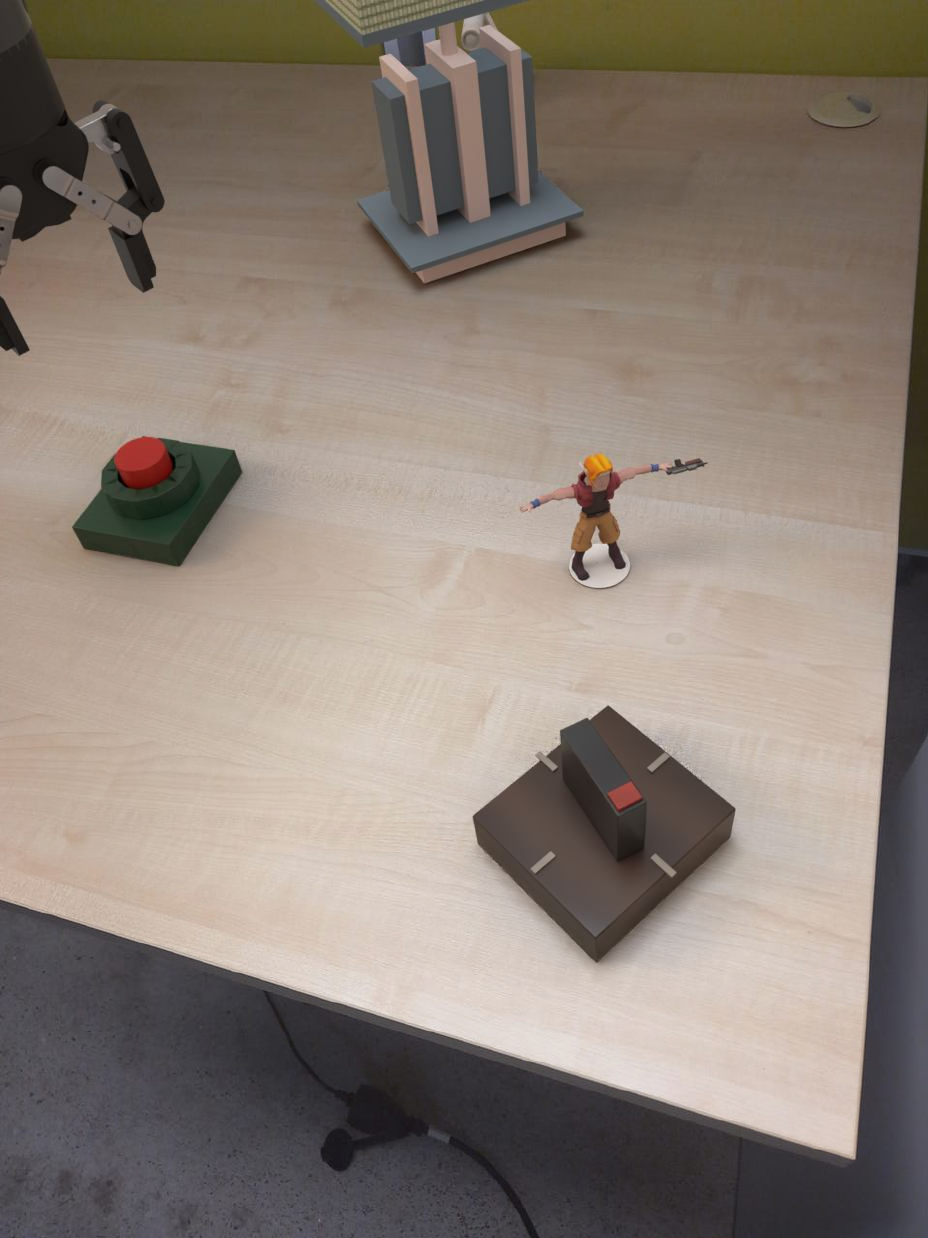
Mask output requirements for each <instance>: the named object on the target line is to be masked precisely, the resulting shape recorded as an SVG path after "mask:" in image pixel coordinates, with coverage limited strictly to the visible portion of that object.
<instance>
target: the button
mask: <svg viewBox="0 0 928 1238" xmlns="http://www.w3.org/2000/svg"><path fill="white" fill-rule="evenodd" d="M157 438H158V437H154V436H146V437H142V436H140V437H137V438H134V439H132V440H129V441H127V442H125V443H124V444H123V445H121V446H120V447H119V448H118V450H117V451H116V453H114V454H115V458H114V462H115V465H116V467H117V469H118V471H119V473H120V475H121V477H122V479H123V481H124V483H125V484H126V485H127V486H129V487H131V488H134V489H144V488H149V487H153V486H155V485H157V484H159V483H160V482H162V481H164V480H165V479H167V478H168V477H169V475H170V474H171V472H172V468H173V464H172V461H171V459H170V457H169V454H168V452H167V450H166V447H165V445H164V443H163V442H162V441H161V440H159V439H157Z"/></svg>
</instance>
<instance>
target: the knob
mask: <svg viewBox="0 0 928 1238" xmlns="http://www.w3.org/2000/svg"><path fill="white" fill-rule="evenodd" d="M589 720H590V719H589V718H588V717H585V718H582V719H580V720H579V721H577V722H575V723H573V724H570V725H568V726H566V727H564V728H562V729H560V730H559V742H560V744H561V758H562V774H563V779H564V781H565V782H566V784H567V785H568V787H569V788H570V790H571V791H572V793H573V794H574V796H575V797H576V799H577V801H578V802H579V804H580V805H581V807H582V808H583V810H584V811H585V813H586V814H587V816H588V817H589V819H590V820H591V822H592V823H593V825H594V826H595V828H596V830H597V831H598V833H599V834H600V836H601V837H602V839H603V840H604V842H605V843H606V845H607V846H608V848H609V849H610V851H611V852H612V854H613V855H614V857H615V859H616V860H617V861H619V860H621V859H623V858H624V857H626V856H628V855H630V854H632V853H634V852H636V851H638V850H640V849H642V848H644V846H645V829H646V812H647V801H646V800H645V798H644V797H643V795H642V794H641V792H640V791H639V790H638V788H637V787H636V785H635V784H634V783H633V781H632V780H631V778H630V777H629V776H628V774H627V773H626V771H625V770H624V769H623V767H622V766H621V764H620V763H619V761H618V760H617V759H616V757H615V756H614V754H613V753H612V752H611V750H610V749H609V747H608V746H607V745H606V743H605V742H604V740H603V739H602V737H601V736H600V735H599V733H598V732H597V730H596V729H595V728H594V726H593V725H592V723H591V722H590V721H589Z"/></svg>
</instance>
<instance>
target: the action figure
mask: <svg viewBox="0 0 928 1238" xmlns="http://www.w3.org/2000/svg"><path fill="white" fill-rule="evenodd" d="M673 462H674V466H673V463H672V462H669V461H667V462H664V463H660V464H659V463H655V464H653V463H651V464H643V465H640V466H637V467H628V468H623V469H621V470H619V471H618V472H616V471H614V470H613V469H614V468H613V464H612V462H611V460H610V459H609V458H608V457H607V456H606V455H605V454H603V453H596V454H593V455H589V456H587V457H586V458H585V460H584V462H583V463H582V462H581V461H580V462H578V463H577V464H578V466H579V468H581V469H583V470H582V472H580V473H579V474H578V475H577V483H576V484H575V483H572V484H571V485H570V486H563V487H560V488H556V489H555V490H553V491H552V492H549V493H546V494H542V495H540V496H539V497H538V498H535V499H534V500H531V501H530V503H526V504H524V505H521V506H519V507H518V510H519V511H520V513H524V512H527V511H528V513H529V514H531V511H532V510H534V509H536V508H538V507H541V506H542V505H545V504H547V503H549V502H551V501H559V502H560V501H563V500H566V499H571V500H572V499H575V500H576V502H577V503H576V504H577V505H578V506H580V507H581V511H580V513H579V519H578V522H577V523H576V525H575V527H574V531H573V533H572V539H571V544H570V550H571V551H574V553H573V555H572V556H571V558H570V559H569V562H568V569H569V572H570V575H571V576H572V578H573V579H574V580H575V581H576V582H578V583H579V584H581V585H583V586H585V587H589V588H595V589H603V588H609V587H613V586H615V585H617V584H619V583H620V582H622V581H624V579H625V578H627V575H628V574H629V572H630V569H631V563H630V558H629V556H628V555H627V554H626V553H625V552H624V551H623V550H622V549H621V548H620V547H619V545H618V540H619V538H620V536H621V530H620V526H619V523H618V520H617V518H616V517H615V515H614V514H613V513H612V512H611V509H612V508H611V503H610V500H613V499H614V497H615V491H616V490H618V489H619V488H620V486H621V485H622V484H623V483H624V482H626V481H628V480H633V479H634V478H635V477H636V476H638V475H644V474H649V473H654V472H656V473H657V472H659V471H664V472H665V473H666V475H667V476H671V475H678V474H682V473H685V472H687V471H689V472H691V471H695V470H697V469H698V468H701V467H704V468H705V465H707V464H709V462H708V461H706V462H704V460H702V459H701V458H700V457H699V458H694V459H691V460H687V461H685V462H684V463H682V459H680V458H678V459H674V461H673ZM596 528H597V529H598V533H597V535H598V538H599V541H600V543H592V539H593V536H594V535H595V531H596Z"/></svg>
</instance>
